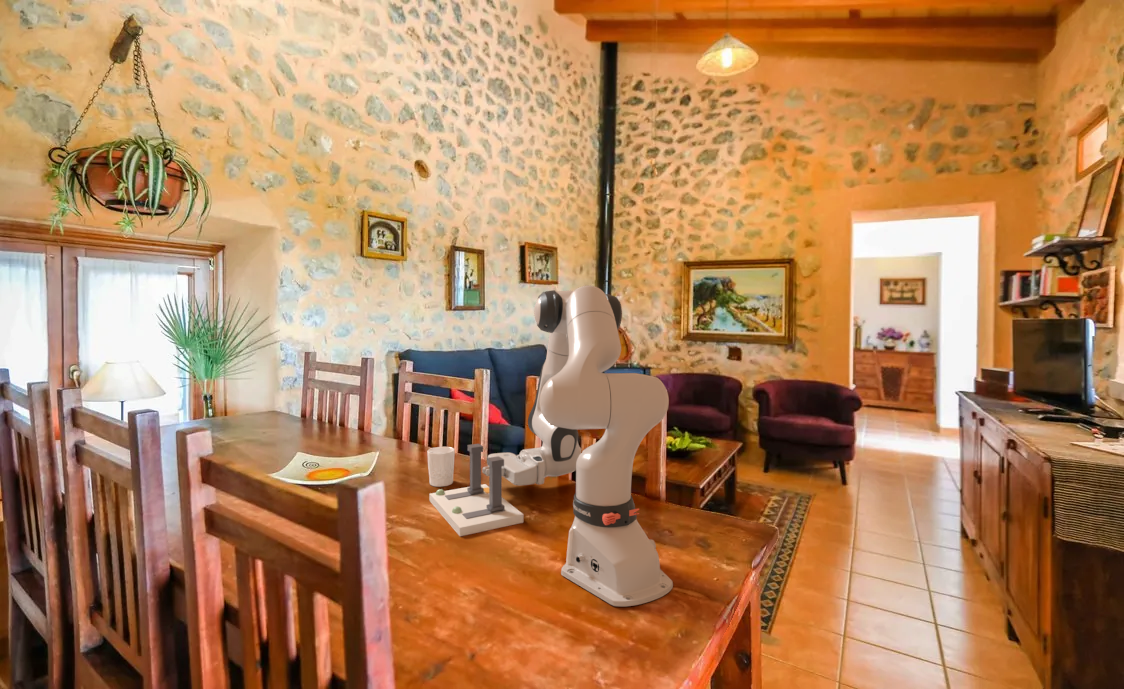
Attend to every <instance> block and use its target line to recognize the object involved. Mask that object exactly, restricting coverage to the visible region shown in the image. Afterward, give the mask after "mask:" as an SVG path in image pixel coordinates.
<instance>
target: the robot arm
mask: <svg viewBox="0 0 1124 689" xmlns="http://www.w3.org/2000/svg"><path fill="white" fill-rule="evenodd" d="M533 314H534V315H533V316H534V319H535V320H534V321H535V323H536V327H538V328H539V330H540V331H543V332H546V333H549V335H548V341H547V352H546V357H545V358H546V359H545V360H544V362H543V363H542V366H541V369H540V374H539V378H538V384H537V390H536V394H535V399H534V404H533V406H532V408H531V410H530V412H529V414H528V418H527V425H528V428H529V430H530V432H532V433H533V434H534V435H535V436H537V437H538V439H540V440H541V442H542V446H540V447H534V448H526V449H522V450H520V452H519V454H515V453H513V452H497V453H496V452H495V453H490V454H488V455H487V458H491V457H498V456H499V457H501V458H502V459H504V466H502V478H504V479H506V480H507V481H508V482H510V483H511V484H512V485H513V486H514V485H515V486H518V487H519V486H529V485H531V486H532V485H543V484H545V478H547V477H560V476H563V475H568V474H571V473H573V472H575V493H574V495H573V499H572V501H573V502H572V506H573V507H572V508H573V515H574V519H573V522H572V525H571V527H570V528H569V530H568V538H567V548H566V549H567V550H566V559H565V561H566V562H565V564H563V566H562V567H561V569H560V570H561V571H560V574H561V576H563V577H564V578H566V579H568V580H569V581H571V582H573V583H574V584H576V585H577V586H580V587H581V588H583V589H584V590H585V591H587V592H589V593H590V594H592V595H594V596H595V597H597V598H599V599H601V600H603V601H604V602H606V603H607V604H609V605H611V606H613V607H631V606H638V605H642V604H645V603H646V604H647V603H649V602H652V601H655V600H658V599H660V598H662V597H664V596H665V595H667V594H668V593H669V592H671V591H672V589H673V588H674V587H673V586H674V583H673V580H672V579H671V578H670V577H669V576H668V575H667V574H666V573H665V572H664V571H663V570H662V569H661V563H660V557H659V553H658V551H657V549H656V548H657V546H656V541H655V540H654V539H649V538H648V536H647V534H646V532H645V530H644V529H643V528H642V526H641V525H640V523H639V522H638V519H637V517H638V516H637V515H640V512H638V511H640V508H636V505H635V503H634V499H633V495H631V494H632V476H633V466H634V460H635V456H636V453H637V451H638V448H639V447H640V444H641V442H642V441H643V440H644V438H645V437H646V435H647V434H648V433H649V432H650V431H651V430H652V429H653V428H655V426H657V425H658V424H660V422H662V420H663V419H664V418H665V416H666V415H667V412H668V410H669V401H670V399H669V393H668V390H667V388H666V385H665V384H664V383H663V382H662V380H661V379H659V378H658V377H657V376H652V375H648V374H642V373H636V372H624V373H623V372H621V373H619V372H618V373H617V372H614V373H613V372H610V373H608V372H606V371H607V370H609V369H610V368H611V367H613V366H614V365H615V364H616V363H617V361H618V360H619V359H620V356H621V352H622V344H621V340H620V334H619V329H620V327H621V324H622V320H623V308H622V304H621V301H620V300H619V298H618V297H616V296H614V295H612V294H608V293H605V292H604V291H603V290H602V289H601V288H599V287H598V286H594V285H582V286H580V287H578V288H575V289H574V290H559V291H558V290H557V291H556V290H554V289H553V290H547V291H543V292H541V294H539V295H538V297H537V300H536V301H535V304H534V309H533ZM599 429H600V430H601V429H605V431H604V433H603V435H602V437H601V438H600V439H599V440H598V441H597V442H595V443H592V444H591V445H590V446H587V447H585V448H584V449H582V448H581V447H580V445H579V432H578V430H599ZM581 450H582V453H581ZM481 473H482V474H484V475H485V476H486V477H489V465H488V464H487V466H483V467H482V468H481Z"/></svg>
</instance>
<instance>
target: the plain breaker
mask: <svg viewBox="0 0 1124 689" xmlns="http://www.w3.org/2000/svg"><path fill="white" fill-rule="evenodd" d="M486 464H487V466H488V465H489V476H488V478H489V485H488V486H489V504H488V505H487V509H488V510H489V511H490V512H493V511H498V510H503V509H505V506H504V505H503V504H502V498H503V496H502V494H503V492H502V491H503V490H502V489H503V488H502V485H503V484H502V483H503V482H502V478H503V476H502V466H504V459H502V458H501V457H499V456H498V457H491V458H488V457H486Z"/></svg>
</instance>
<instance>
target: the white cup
mask: <svg viewBox="0 0 1124 689" xmlns="http://www.w3.org/2000/svg"><path fill="white" fill-rule="evenodd" d="M455 450H456V449H455V448H454V447H451V446H437V447H431V448H429V449H428V450H427V468H428V477H429V478H428V479H429V485H430V486H432V487H435V488H436V487H438V488H442V487H448V486H450V485H452V484H453V483H454V473H455V472H454V471H455V470H454V469H455Z"/></svg>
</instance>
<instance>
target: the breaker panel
mask: <svg viewBox="0 0 1124 689" xmlns="http://www.w3.org/2000/svg"><path fill="white" fill-rule="evenodd" d="M469 487H470V486H467V487H461V488H459V487H458V488H454V489H449V490H444V489H443V488H441V489H440V488H439V489H437V490H436V492H432V493H431V492H430V493H429V497H428V498H429V502H430V504H432V506H433V507H434V508H435V509H436V510H437V512H438V513H439V514H440V515H441V517H443V519H445V521H446V522H447V523H448V524H449V525H450V526H451V528H452V529H453V530H454V531H455V532H456V534H457V535H458V536H459V537H465V536H469V535H472V534H473V535H474V534H476V533H477V534H478V533H482V532H487V531H491V530H494V529H499V528H504V527H508V526H509V527H510V526H512V525H514V526H515V525H517V524H523V523H524V513H523V512H521V511H520V510H518V508H517V507H515V506H513V505H512V504H511V503H510V502H509V501H508V500H506V499H505V498H504V497H502V504H503V505H504V506H505V509H503V510H498V511H493V512H490V511H489V510H488V509H487V505H488V504H489V485H487V484H486V483H483V484H482V483H481V487H482V488H483V489H484V492H479V493H473V494H470V493H469V492H468V491H467V488H469Z"/></svg>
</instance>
